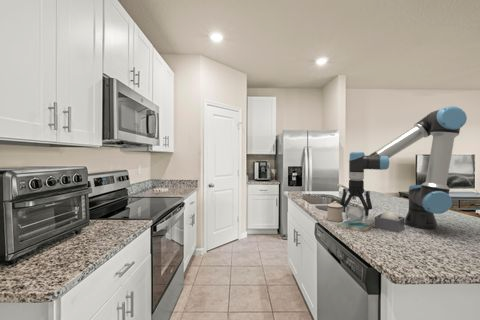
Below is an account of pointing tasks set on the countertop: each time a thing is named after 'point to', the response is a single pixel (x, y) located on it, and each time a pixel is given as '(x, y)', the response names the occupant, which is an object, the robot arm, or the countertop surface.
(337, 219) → the teacup with lid
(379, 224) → the dark grey open box
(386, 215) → the dome
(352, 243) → the countertop surface
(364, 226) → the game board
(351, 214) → the grey rock
